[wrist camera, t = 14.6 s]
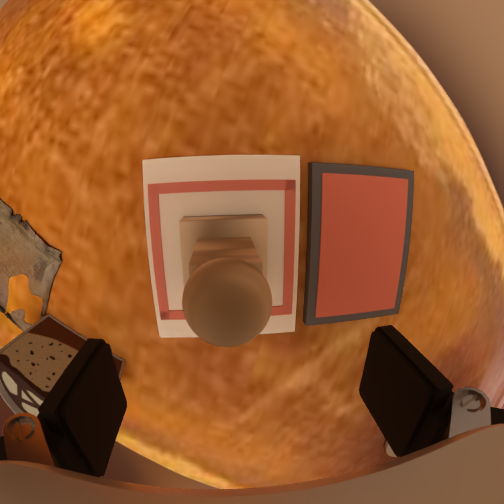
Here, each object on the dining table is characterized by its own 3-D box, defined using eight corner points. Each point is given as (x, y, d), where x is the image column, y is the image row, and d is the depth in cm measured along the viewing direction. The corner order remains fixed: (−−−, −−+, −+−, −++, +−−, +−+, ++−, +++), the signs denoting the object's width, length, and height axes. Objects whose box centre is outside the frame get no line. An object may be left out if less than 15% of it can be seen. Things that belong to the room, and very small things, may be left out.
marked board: (296, 156, 22) (300, 155, 21) (292, 326, 26) (295, 332, 25) (145, 160, 21) (141, 159, 20) (161, 331, 25) (159, 338, 24)
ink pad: (407, 170, 24) (414, 171, 22) (393, 309, 27) (399, 314, 26) (308, 162, 23) (312, 162, 21) (302, 320, 26) (306, 326, 25)
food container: (30, 345, 24) (-14, 398, 15) (37, 305, 23) (-17, 356, 14) (121, 400, 27) (99, 468, 17) (138, 366, 26) (114, 440, 16)
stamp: (262, 214, 22) (302, 252, 12) (262, 287, 24) (294, 372, 13) (183, 216, 22) (149, 258, 11) (188, 290, 23) (168, 379, 12)
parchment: (-10, 183, 20) (-15, 184, 19) (71, 254, 23) (66, 257, 22) (-32, 274, 21) (-37, 277, 20) (38, 341, 24) (34, 346, 24)
